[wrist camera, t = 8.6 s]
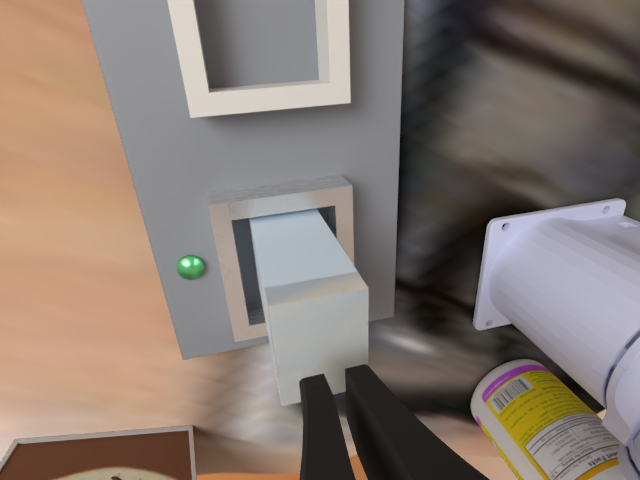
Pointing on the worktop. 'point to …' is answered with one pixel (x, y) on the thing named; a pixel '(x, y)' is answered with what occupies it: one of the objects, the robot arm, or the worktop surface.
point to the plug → (309, 301)
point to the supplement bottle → (543, 426)
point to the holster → (266, 96)
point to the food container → (104, 456)
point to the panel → (250, 139)
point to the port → (264, 202)
